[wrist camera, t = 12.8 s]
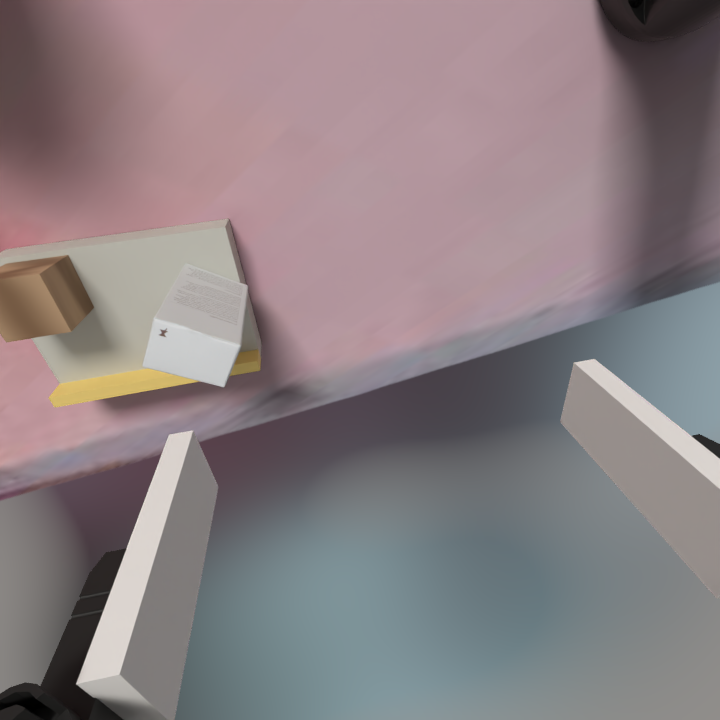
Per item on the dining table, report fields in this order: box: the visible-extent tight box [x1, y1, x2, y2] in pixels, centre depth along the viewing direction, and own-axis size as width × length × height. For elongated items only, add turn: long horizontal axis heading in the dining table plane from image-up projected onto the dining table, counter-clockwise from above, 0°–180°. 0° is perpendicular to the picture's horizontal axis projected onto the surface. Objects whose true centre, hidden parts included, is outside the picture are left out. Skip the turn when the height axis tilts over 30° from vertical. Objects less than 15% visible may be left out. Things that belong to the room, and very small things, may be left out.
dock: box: [0, 219, 262, 407], centre depth 38 cm, size 20×14×6 cm
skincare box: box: [142, 263, 248, 387], centre depth 33 cm, size 6×4×12 cm
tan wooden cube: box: [0, 255, 94, 342], centre depth 33 cm, size 5×5×5 cm
